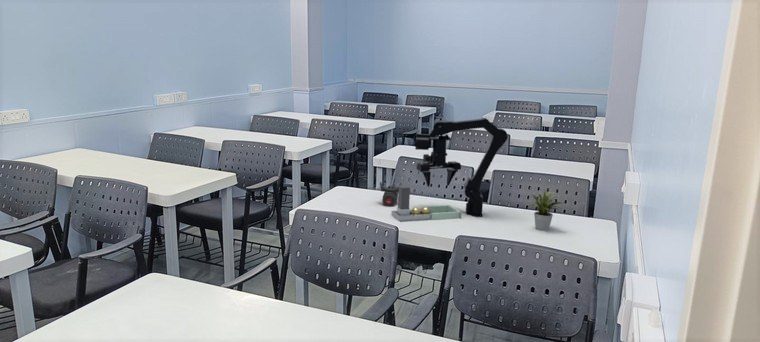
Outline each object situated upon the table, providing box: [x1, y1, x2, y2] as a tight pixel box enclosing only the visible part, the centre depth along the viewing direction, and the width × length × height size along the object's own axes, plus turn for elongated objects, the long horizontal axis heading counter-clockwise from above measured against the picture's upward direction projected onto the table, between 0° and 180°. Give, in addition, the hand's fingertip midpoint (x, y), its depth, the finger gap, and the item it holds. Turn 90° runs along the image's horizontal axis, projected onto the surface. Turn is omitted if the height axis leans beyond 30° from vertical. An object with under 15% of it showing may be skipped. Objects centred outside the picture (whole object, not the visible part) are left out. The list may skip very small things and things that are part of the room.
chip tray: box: [420, 204, 462, 221], centre depth 228 cm, size 13×12×3 cm
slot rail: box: [390, 208, 458, 223], centre depth 226 cm, size 27×12×2 cm, turn 108°
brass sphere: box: [410, 207, 421, 215], centre depth 225 cm, size 4×4×4 cm
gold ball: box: [420, 206, 430, 214], centre depth 226 cm, size 4×4×4 cm
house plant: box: [527, 188, 563, 231], centre depth 213 cm, size 14×14×16 cm
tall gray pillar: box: [396, 185, 411, 215], centre depth 222 cm, size 4×4×13 cm
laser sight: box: [379, 181, 402, 207], centre depth 251 cm, size 10×22×10 cm, turn 174°
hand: (438, 185), depth 233 cm, fingers open, 9 cm apart
